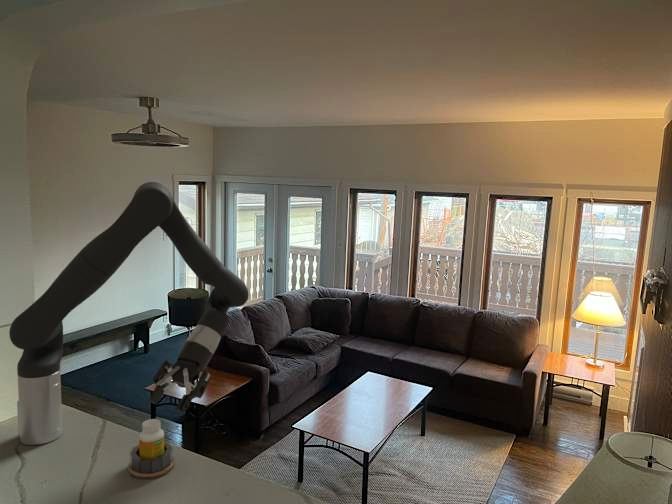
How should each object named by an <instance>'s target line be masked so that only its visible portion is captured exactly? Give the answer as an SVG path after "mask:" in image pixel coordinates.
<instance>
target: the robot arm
mask: <svg viewBox="0 0 672 504" xmlns="http://www.w3.org/2000/svg"><path fill="white" fill-rule="evenodd" d="M157 227H159V228H160V229H161V230H162V231H163V232H164V234H165V235H166V236H167V237H168V238H169V239H170V241H171V243H172V244H173V245H174V247H175V249H176V250H177V251H178V253H179V254H180V256H181V258H182V259H183V261H184V262H185V264H186V265H187V266H188V267H189V269H190V270H191V271H192V272H193V274H195V276H196V277H197V278H198V279H199V280H200V281H201V282H202V283H203V284H204V285H208V286H211V287H213V289H212V290H211V292H210V294H209V297H208V299H207V303H206V305H205V308H204V309H205V310H204V313H203V314H202V315H201V317H200V319H199V320H198V323H197V324H196V326H194V327H195V328H193V330H192V331H191V333H190V334H189V336H188V337H187V339H186V341H184V344H183V346H182V347H181V349H180V351H179V353H178V354H177V360H176V362H174V363H171V362H170V361H168V360H164V361H163V362H162V365H161V366H160V367H159V369H158V371H157V372H156V373H155V375H154V377H153V379H152V380H151V381H152V382H153V383H154V384H155V388H154V390H153V391H152V393H151V394H150V398H149V401H150V403H152V404H154V405H157V404H158V403H159V401H160V399H161V397H162V396H163V394H164V393H165V390H166V389H167V388H169V387H173V386H174V385H181V386H183V387H185V394H183V396H181V397H182V398H181V399H180V401H179V403H178V404H177V407H176V410H177V412H179V413H181V414H184V412H186V411H187V409H188V407H190V404H191V403H192V400H194V399H198V398H199V399H201V398H202V397H203V396H204V394H205V392H206V389H207V387H208V385H209V383H210V382H211V379H212V375H211V374H210V373H209V372H208V371H207V370H206V368H207V366H208V364H209V362H210V361H211V359H212V357H213V355H214V354H215V352H216V350H217V348H218V346H219V343H220V342H221V338H222V337H223V335H224V333H225V332H226V329H228V326H229V323H230V318H229V315H227V312H228V311H229V309H231V308H239V307H242V306H244V305H245V304H246V303H247V302H248V300H249V290H248V289H249V288H248V287H247V284H246V283H244V281H243V280H242V278H240V277H239V276H238V275H236V274H235V273H234V272H233V271H231V270H230V269H229V268H227V267H226V266H224V264H223V263H222V262H221V261H220V260H219V258H218V257H217V255H216V254H215V253H214V252H213V251H212V249H210V247H209V246H208V245H207V244H206V242H205V241H204V240H203V239H202V238H201V237H200V236H199V234H198V233H197V232H196V231H195V230H194V228H193V227H192V226H191V224H190V223H189V222H188V220H187V219H186V217H185V216H184V215H183V213H182V212H181V210H180V208H179V207H178V205H177V203H176V201H175V200H174V197H173V195H172V193H171V191H170V190H169V189H168V188H167V187H166V186H165V185H163V184H162V183H160V182H156V181H148V182H145V183H143V184H141V185H140V186H139V187H137V189H136V190H135V192H134V194H133V197H132V198H131V201H130V202H129V204H128V205H126V207H125V208H124V210H123V211H122V213H121V214H120V215H119V216H118V217H117V219H116V220H115V221H114V222H113V223H112V224H111V225H110V226H109V227H107V228H106V229H105V230H104V231H102V232H101V233H100V234H98V235H97V236H95V237H94V238H93V239H92V240H90V241H89V242H88V243H87V244H86V245H85V246H84V247H83V248H81V249H80V250H79V252H77V254H76V255H75V256H74V257H73V259H72V260H71V261H70V262H69V263H68V264H67V266H65V268H64V269H63V270H62V271H61V272H60V273H59V275H58V276H57V277H56V278H55V279H54V281H53V282H52V283H51V284H50V286H49V287H48V288H47V289H46V291H45V292H44V293H43V294H42V295H41V296H40V297H39V298H38V299H36V300H35V301H34V302H33V303H32V304H31V305H30V306H29V307H28V308H26V309H25V310H24V311H22V312H21V313H20V314H19V315H17V317H15V318H14V319H13V321H12V322H11V325H10V326H9V331H8V334H9V335H8V336H9V340H10V342H11V343H12V345H14V347H16V348H17V349H20V350H23V351H22V354H21V357H20V358H19V361H18V362H17V365H16V369H17V390H18V391H17V392H18V393H17V394H18V400H17V402H16V404H17V405H16V407H17V411H16V412H17V428H18V429H17V430H18V431H17V432H18V435H17V436H18V437H19V441H20V443H22V444H23V445H28V446H36V445H38V446H39V445H43V444H48V443H50V442H52V441H55V440H57V439H58V438H60V436H61V435H62V433H63V425H62V423H63V421H62V420H63V419H62V412H63V411H62V386H61V385H62V383H61V361H62V358H63V355H64V354H63V352H64V325H63V321H64V319H65V318H66V317H67V316H68V315H69V314H70V313H71V312H72V311H73V310H74V309H75V308H77V307H79V306H80V305H81V304H83V302H85V301H87V299H89V298H90V297H91V296H93V294H95V293H96V292H97V291H98V290H99V289H101V288H102V287H103V285H105V283H107V281H109V279H110V278H111V277H112V276H114V274H115V273H116V272H117V271H118V269H119V268H120V267H121V266H122V265H123V263H124V262H126V260H127V259H128V257H129V256H130V255H131V254H132V252H133V251H134V249H135V248H136V247H137V246H138V244H140V242H142V241H143V240H144V239H145V238H146V237H147V236H148V235H149V234H150V233H152V232H153V231H154V230H155V229H157ZM196 381H197V382H196Z"/></svg>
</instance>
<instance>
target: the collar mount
mask: <svg viewBox="0 0 672 504" xmlns="http://www.w3.org/2000/svg"><path fill="white" fill-rule="evenodd" d="M127 467H128V468H127V470H128V474H129V475H130V476H131V477H132V478H134V479H137V480H153V479H158V478H161V477H163V476H166V475H167V474H169V473H170V472H171V471H172V470H173V469H174V467H175V458H174V456H173V447H172V445H171V444H170V443H169V442H166V441H164V454H162V455H160V456H158V457H154V458H141V457H140V453H139V444H138V445H136V446H134V447H133V448H132V449H131V450H130V452H129V463H128V466H127Z"/></svg>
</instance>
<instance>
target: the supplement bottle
mask: <svg viewBox="0 0 672 504" xmlns="http://www.w3.org/2000/svg"><path fill="white" fill-rule="evenodd" d="M161 424H162V421H161V420H160V419H158V418H150V419H147V420H144V421H142V423H141V427H142V428H141V429H142V431H141V432H140V433H139V441H138V443H139V444H138V445H139V453H140V457H141V458H154V457H158V456H160V455H162V454H164V442H165V431H164V429H162V428H161V427H162V425H161Z"/></svg>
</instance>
